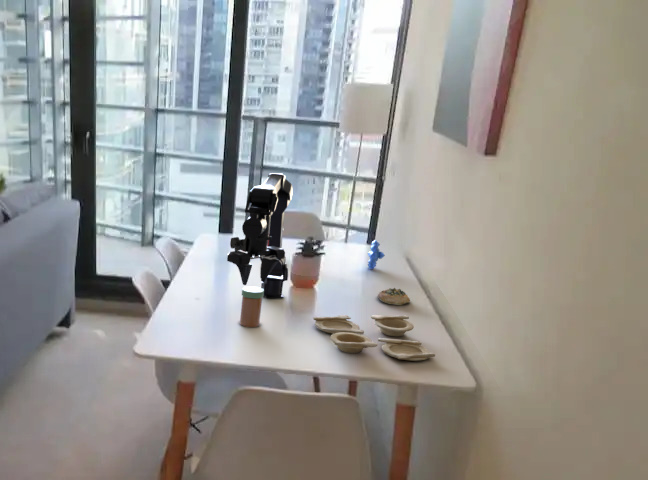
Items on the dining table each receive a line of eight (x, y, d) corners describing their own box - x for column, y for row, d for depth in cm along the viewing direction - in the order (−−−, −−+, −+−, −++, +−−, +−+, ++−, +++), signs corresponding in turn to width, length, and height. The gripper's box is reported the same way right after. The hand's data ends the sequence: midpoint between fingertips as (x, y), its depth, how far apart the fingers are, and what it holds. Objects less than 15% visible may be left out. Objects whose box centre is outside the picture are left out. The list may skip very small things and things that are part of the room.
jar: (254, 320, 225) (257, 287, 221) (262, 326, 219) (266, 293, 215) (236, 321, 223) (239, 288, 219) (244, 327, 218) (247, 294, 214)
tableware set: (310, 319, 228) (311, 307, 226) (402, 323, 228) (404, 311, 226) (332, 360, 196) (334, 346, 194) (440, 366, 196) (443, 352, 194)
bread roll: (382, 293, 258) (386, 280, 256) (412, 303, 253) (416, 290, 250) (371, 301, 250) (375, 288, 247) (402, 312, 245) (406, 299, 242)
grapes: (381, 273, 286) (386, 243, 281) (363, 271, 288) (368, 241, 283) (383, 266, 296) (388, 238, 291) (366, 264, 298) (371, 236, 293)
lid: (258, 291, 222) (258, 285, 221) (267, 298, 216) (268, 292, 215) (238, 292, 220) (238, 286, 219) (246, 299, 214) (247, 292, 213)
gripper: (262, 223, 221) (257, 273, 227) (216, 229, 211) (212, 280, 217) (289, 231, 213) (282, 281, 219) (242, 236, 203) (237, 290, 209)
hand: (253, 283), depth 216 cm, fingers open, 7 cm apart
